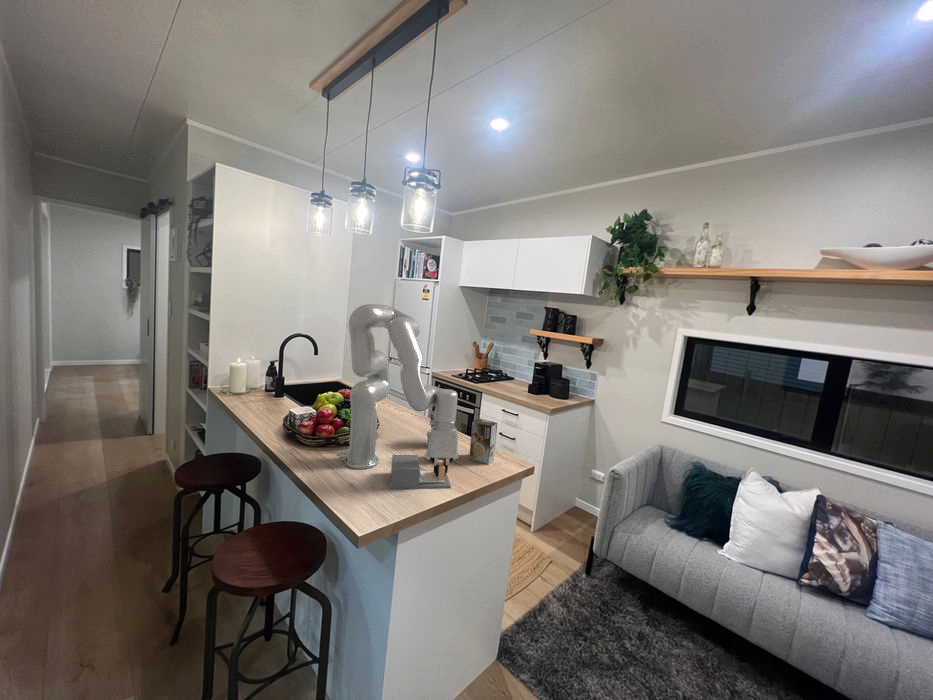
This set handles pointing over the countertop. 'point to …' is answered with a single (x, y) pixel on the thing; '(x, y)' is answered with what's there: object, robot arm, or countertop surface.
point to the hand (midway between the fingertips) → (440, 474)
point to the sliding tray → (431, 476)
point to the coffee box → (483, 441)
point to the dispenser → (411, 474)
